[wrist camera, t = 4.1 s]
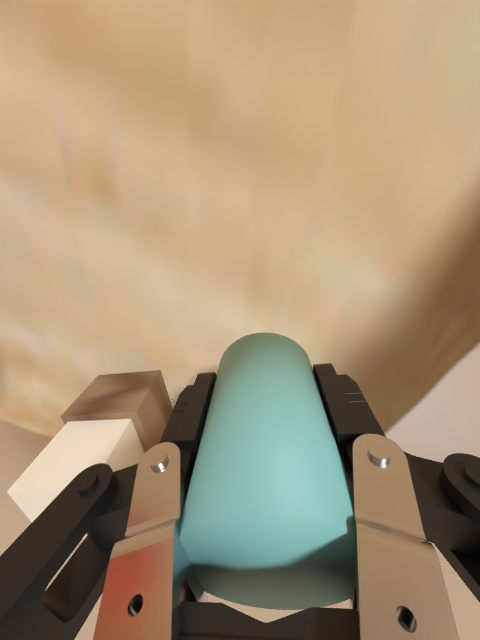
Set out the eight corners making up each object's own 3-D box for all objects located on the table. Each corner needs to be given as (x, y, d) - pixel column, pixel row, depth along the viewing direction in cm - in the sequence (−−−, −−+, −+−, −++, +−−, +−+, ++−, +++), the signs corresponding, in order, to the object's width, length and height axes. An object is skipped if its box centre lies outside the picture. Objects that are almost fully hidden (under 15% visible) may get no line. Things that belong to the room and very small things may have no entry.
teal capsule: (309, 327, 10) (385, 511, 4) (312, 404, 12) (368, 614, 6) (211, 337, 11) (147, 512, 5) (227, 409, 13) (197, 605, 7)
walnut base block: (160, 369, 22) (136, 411, 18) (176, 418, 24) (158, 466, 20) (99, 375, 23) (60, 416, 18) (120, 422, 25) (90, 469, 21)
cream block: (131, 418, 18) (89, 490, 13) (149, 463, 20) (118, 539, 15) (67, 421, 18) (6, 491, 14) (91, 465, 20) (45, 539, 16)
